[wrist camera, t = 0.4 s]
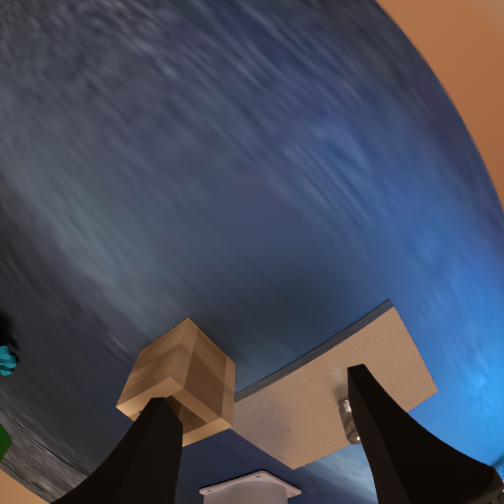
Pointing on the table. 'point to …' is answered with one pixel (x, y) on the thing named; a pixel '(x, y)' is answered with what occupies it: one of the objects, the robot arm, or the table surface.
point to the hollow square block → (184, 381)
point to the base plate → (330, 390)
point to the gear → (6, 361)
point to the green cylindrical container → (4, 442)
